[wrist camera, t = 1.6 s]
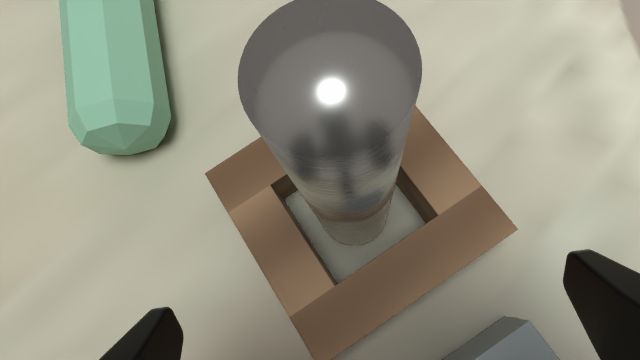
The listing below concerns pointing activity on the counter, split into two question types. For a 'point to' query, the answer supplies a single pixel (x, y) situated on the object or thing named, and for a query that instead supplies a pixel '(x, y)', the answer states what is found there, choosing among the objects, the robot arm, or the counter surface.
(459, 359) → the socket block
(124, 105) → the green faceted rod
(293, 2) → the axle
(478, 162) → the counter surface
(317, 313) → the brown square frame
